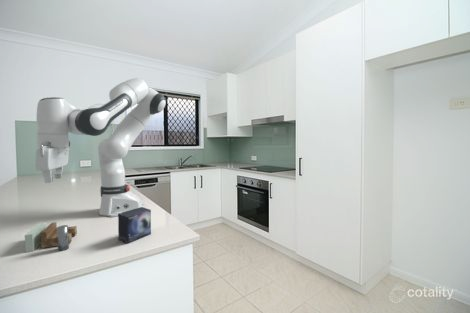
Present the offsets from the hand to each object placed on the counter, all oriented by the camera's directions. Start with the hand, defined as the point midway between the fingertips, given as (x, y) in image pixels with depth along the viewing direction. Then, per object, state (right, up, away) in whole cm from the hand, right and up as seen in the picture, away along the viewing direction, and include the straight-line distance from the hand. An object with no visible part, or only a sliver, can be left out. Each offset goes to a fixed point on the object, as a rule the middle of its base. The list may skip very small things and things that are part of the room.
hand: (53, 180), depth 80 cm
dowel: (+6, -24, -3) cm, 25 cm away
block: (0, -23, +3) cm, 23 cm away
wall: (-6, -23, 0) cm, 24 cm away
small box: (+27, -24, +7) cm, 36 cm away
